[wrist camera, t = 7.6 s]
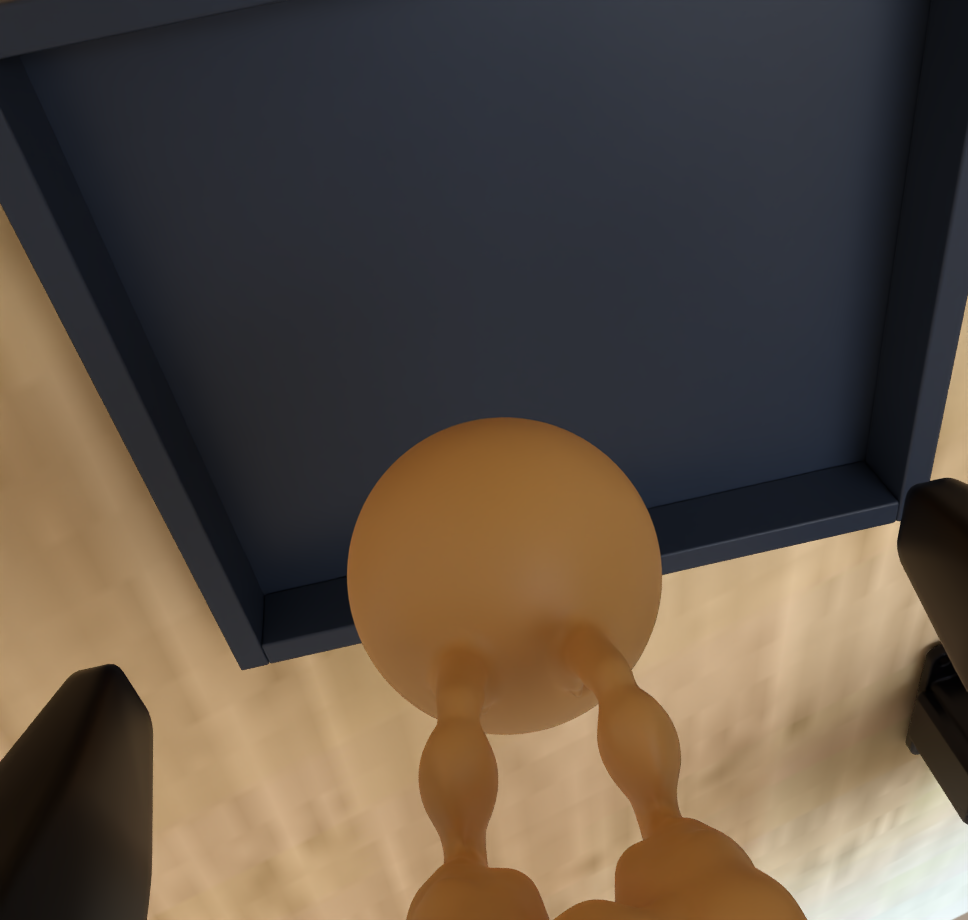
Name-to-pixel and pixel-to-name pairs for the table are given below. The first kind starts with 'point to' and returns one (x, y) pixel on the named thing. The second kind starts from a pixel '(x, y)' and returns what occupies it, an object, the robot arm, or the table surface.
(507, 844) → the table surface
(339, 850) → the table surface
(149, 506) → the table surface
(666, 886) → the figurine
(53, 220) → the tray
